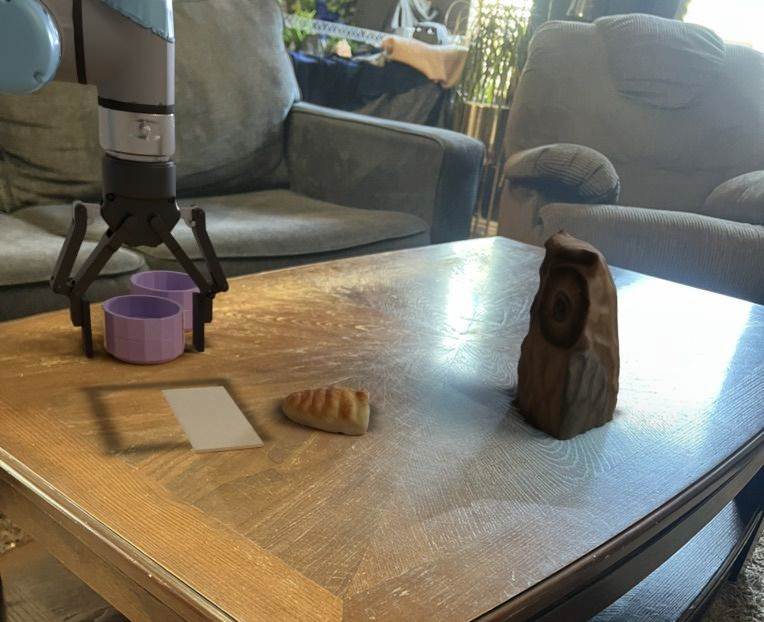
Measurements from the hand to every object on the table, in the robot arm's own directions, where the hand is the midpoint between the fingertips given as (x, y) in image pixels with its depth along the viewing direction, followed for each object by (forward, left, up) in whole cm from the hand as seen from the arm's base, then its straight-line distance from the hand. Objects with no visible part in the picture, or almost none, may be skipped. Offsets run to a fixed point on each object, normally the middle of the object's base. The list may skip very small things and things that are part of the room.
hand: (144, 350), depth 93 cm
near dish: (0, 0, 0) cm, 0 cm away
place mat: (-1, -19, 0) cm, 19 cm away
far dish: (+5, +10, 0) cm, 11 cm away
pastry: (+15, -22, 0) cm, 27 cm away
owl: (+43, -26, 0) cm, 50 cm away
